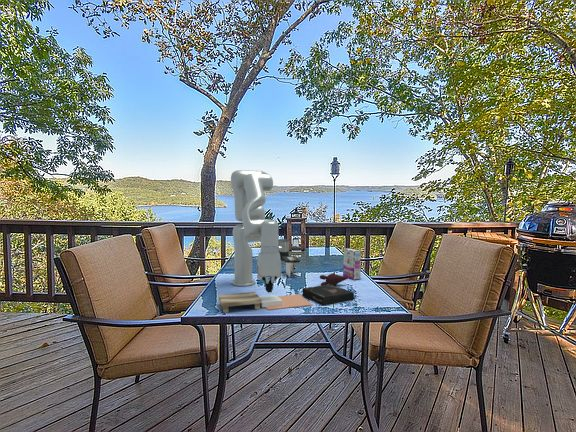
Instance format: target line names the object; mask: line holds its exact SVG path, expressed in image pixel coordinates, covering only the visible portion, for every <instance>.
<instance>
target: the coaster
mask: <svg viewBox="0 0 576 432" xmlns="http://www.w3.org/2000/svg"><path fill="white" fill-rule="evenodd" d="M258 296H259V295H258ZM278 296H279V295H277V294H270V295H260V296H259V297H260V298H261V300H262V303H260V308H265V307H270V306H279V305H283V300H281V299H280V298H279V297H278Z"/></svg>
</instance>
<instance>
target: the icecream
mask: <svg viewBox="0 0 576 432" xmlns="http://www.w3.org/2000/svg"><path fill="white" fill-rule="evenodd" d="M319 278H320V280H323V281H322V282H321V283H320V286H321V285H328V284H332V285H335V286H337V285H339V283H342V282H344V281H346V280H348V279H349V278H348V277H345V276H343V275H339V274H336V273H335V272H332V273H329V274H328V275H324V274H320V275H319ZM324 280H325V281H324Z"/></svg>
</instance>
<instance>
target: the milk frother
mask: <svg viewBox="0 0 576 432" xmlns="http://www.w3.org/2000/svg"><path fill="white" fill-rule="evenodd" d="M278 246H279V247H281V250H279V253H280V259H281V261H284V260H283V259H282V256H290V254H289V253H290V239H287V238H278Z"/></svg>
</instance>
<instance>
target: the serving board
mask: <svg viewBox="0 0 576 432" xmlns="http://www.w3.org/2000/svg"><path fill="white" fill-rule="evenodd" d="M217 298H218V300H219V305H220V306H221V307H222V313H223V314H224V313H225V314H226V313H229V307H235V306H237V307H239V306H247V305H253V306H254V307H253V308H254V310H260V309H261V306H260V303H262V300H261V298H260V297H259V295H258V294H257V292H256V291H249V292H237V293H236V292H235V293H225V294H218V296H217Z"/></svg>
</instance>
